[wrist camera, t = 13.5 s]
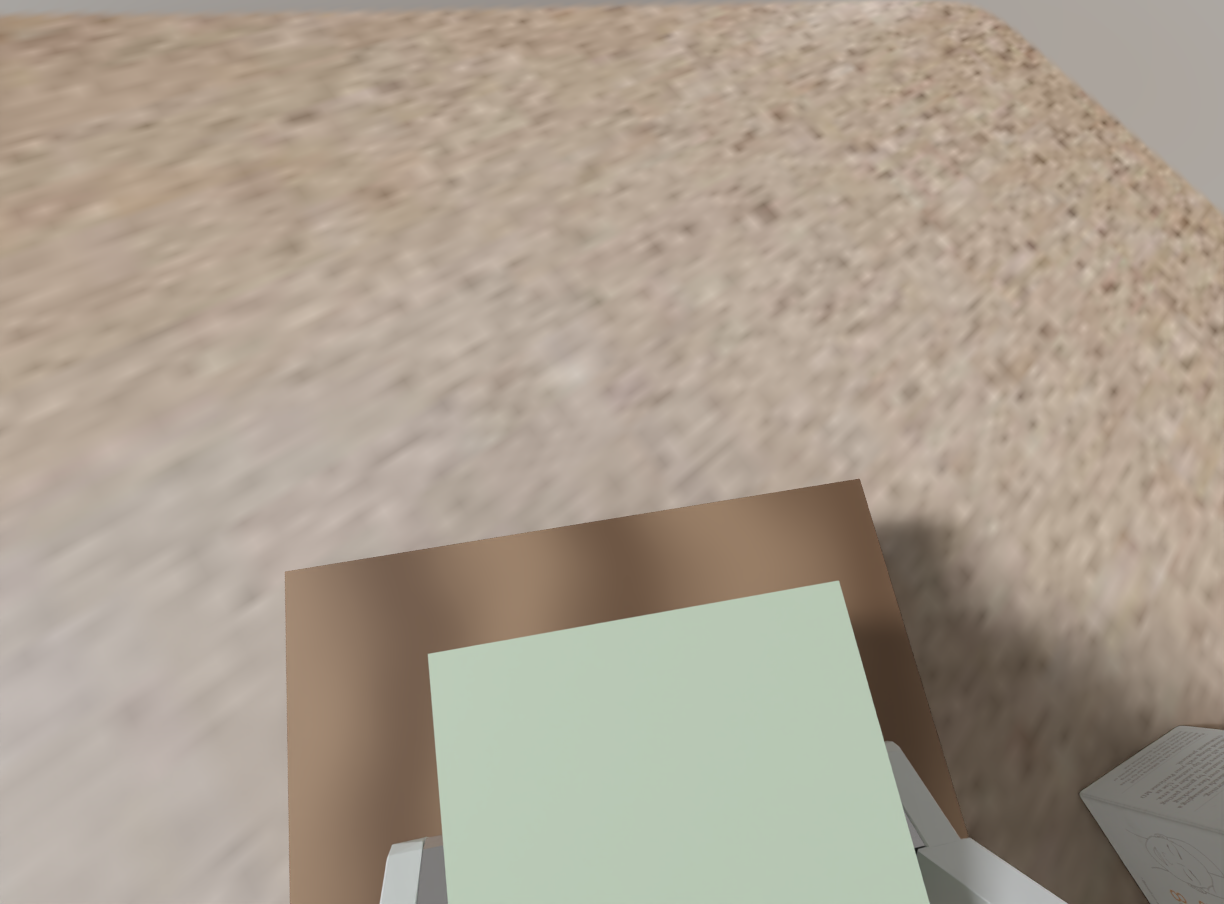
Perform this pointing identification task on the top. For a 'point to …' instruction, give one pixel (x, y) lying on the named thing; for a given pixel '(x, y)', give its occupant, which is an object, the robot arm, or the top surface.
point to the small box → (1168, 816)
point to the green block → (671, 762)
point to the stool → (534, 604)
